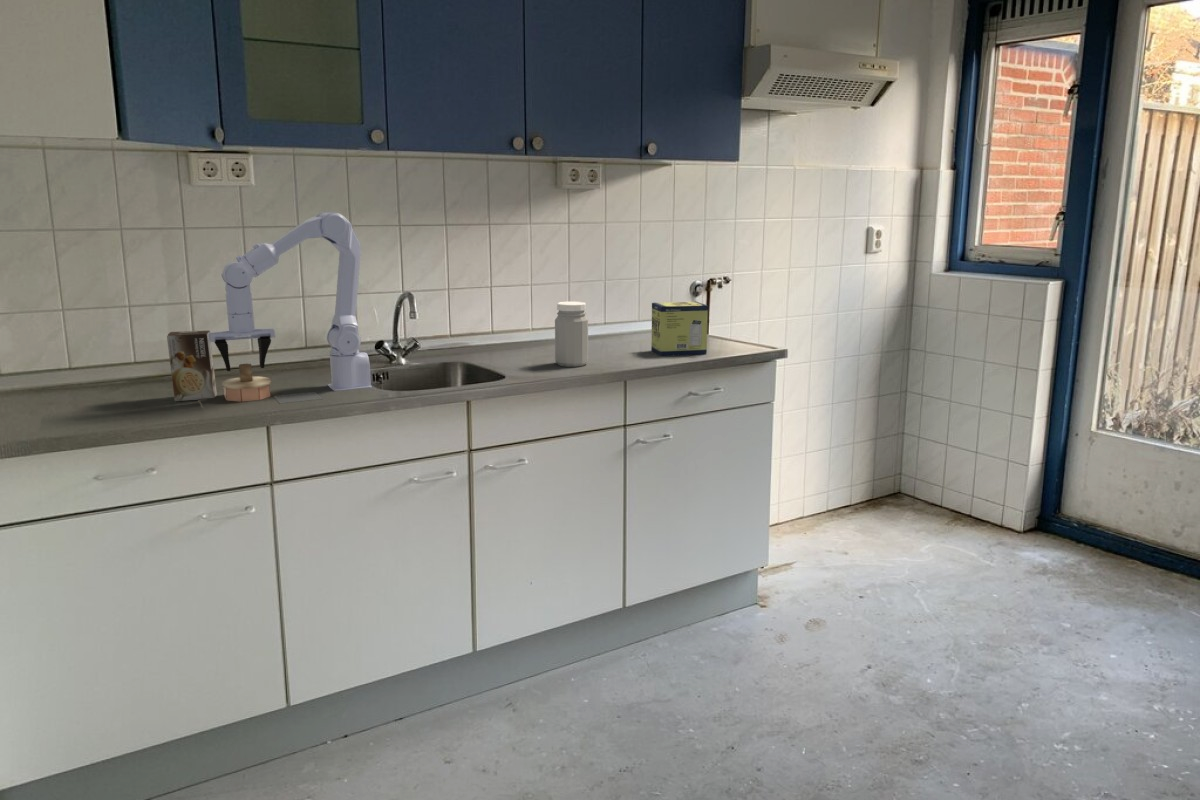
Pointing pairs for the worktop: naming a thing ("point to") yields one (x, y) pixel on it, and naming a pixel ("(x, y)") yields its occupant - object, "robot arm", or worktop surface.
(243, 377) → the lid
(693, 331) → the protein box
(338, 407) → the worktop surface
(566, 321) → the jar
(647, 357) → the worktop surface
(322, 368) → the worktop surface
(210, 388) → the coffee box
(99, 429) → the worktop surface
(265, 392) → the bowl
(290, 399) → the mat
